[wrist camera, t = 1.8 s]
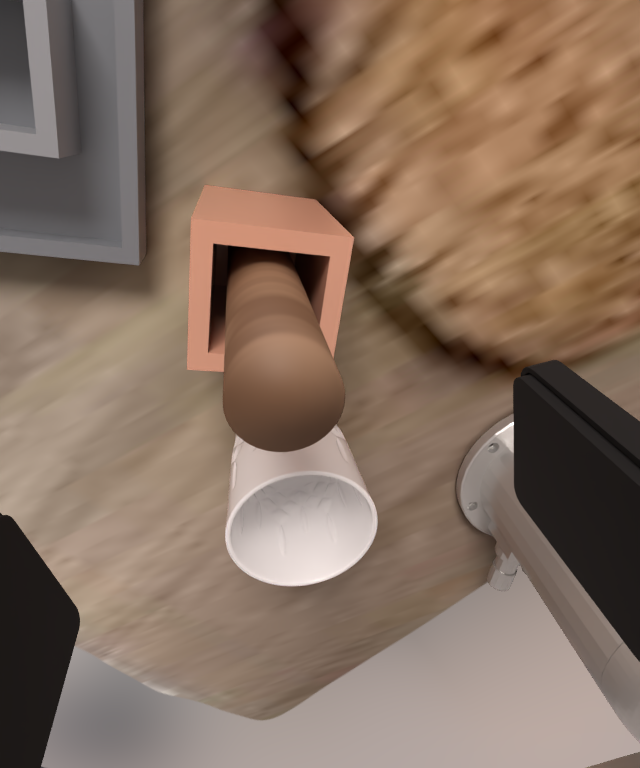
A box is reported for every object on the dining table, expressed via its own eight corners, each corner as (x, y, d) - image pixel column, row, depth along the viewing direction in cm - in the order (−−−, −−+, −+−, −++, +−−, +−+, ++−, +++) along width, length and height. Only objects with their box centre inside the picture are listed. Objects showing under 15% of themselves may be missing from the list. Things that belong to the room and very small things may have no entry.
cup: (302, 303, 30) (329, 378, 22) (200, 293, 29) (187, 369, 20) (315, 199, 28) (354, 237, 19) (204, 184, 26) (191, 218, 18)
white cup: (217, 466, 35) (212, 581, 26) (240, 366, 32) (242, 461, 23) (324, 479, 37) (352, 591, 28) (355, 387, 34) (398, 482, 25)
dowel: (282, 281, 29) (334, 453, 14) (226, 275, 28) (219, 450, 13) (288, 224, 28) (354, 350, 13) (229, 217, 27) (226, 340, 12)
